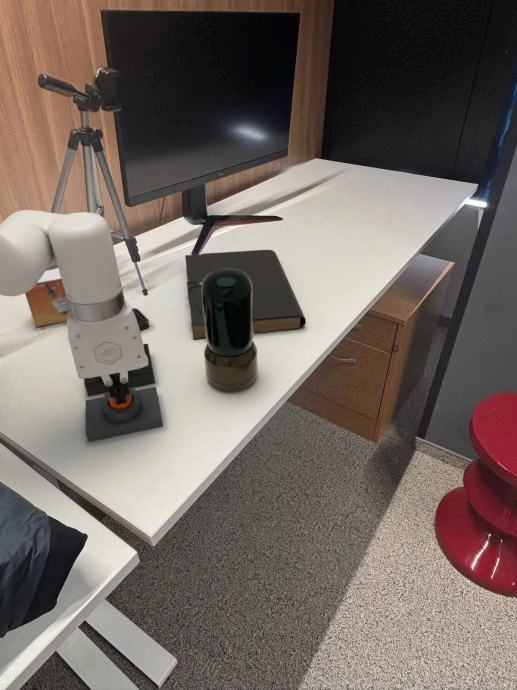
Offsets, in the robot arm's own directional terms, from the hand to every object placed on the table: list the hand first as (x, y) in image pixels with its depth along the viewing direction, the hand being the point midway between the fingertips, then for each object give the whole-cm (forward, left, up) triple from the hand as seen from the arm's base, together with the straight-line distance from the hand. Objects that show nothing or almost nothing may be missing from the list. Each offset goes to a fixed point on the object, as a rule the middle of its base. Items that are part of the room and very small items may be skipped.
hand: (121, 398), depth 79 cm
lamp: (+20, +5, -5) cm, 21 cm away
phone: (-1, +28, -5) cm, 28 cm away
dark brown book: (+29, +34, -5) cm, 45 cm away
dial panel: (0, +12, -5) cm, 13 cm away
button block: (0, 0, -5) cm, 5 cm away
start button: (0, 0, -2) cm, 2 cm away
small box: (-13, +37, -5) cm, 40 cm away
